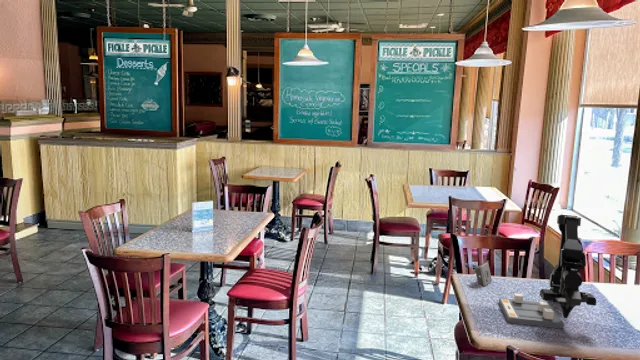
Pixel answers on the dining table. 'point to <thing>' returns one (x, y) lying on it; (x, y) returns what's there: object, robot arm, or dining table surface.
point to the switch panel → (528, 313)
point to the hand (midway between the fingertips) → (565, 317)
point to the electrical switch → (483, 274)
